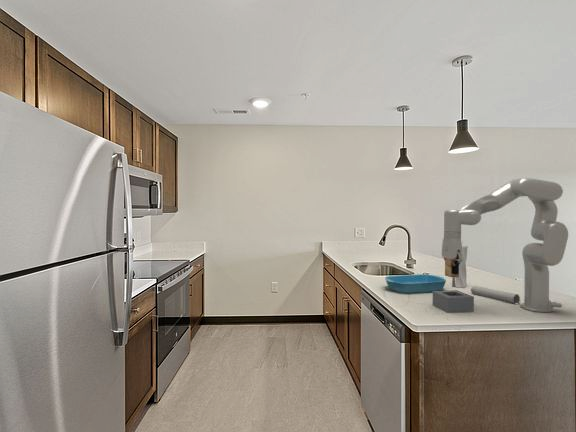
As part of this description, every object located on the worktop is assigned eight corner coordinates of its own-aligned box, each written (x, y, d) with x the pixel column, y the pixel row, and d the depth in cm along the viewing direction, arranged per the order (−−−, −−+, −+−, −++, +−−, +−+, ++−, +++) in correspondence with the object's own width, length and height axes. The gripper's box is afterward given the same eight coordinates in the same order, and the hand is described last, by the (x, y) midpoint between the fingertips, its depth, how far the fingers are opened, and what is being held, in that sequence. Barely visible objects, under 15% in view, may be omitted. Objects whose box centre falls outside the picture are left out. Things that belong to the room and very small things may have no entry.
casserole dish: (397, 295, 189) (397, 283, 188) (378, 287, 210) (378, 275, 210) (454, 292, 196) (454, 280, 196) (430, 284, 218) (430, 273, 218)
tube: (467, 287, 192) (512, 296, 169) (473, 283, 194) (518, 292, 171) (470, 295, 192) (514, 306, 170) (476, 291, 195) (520, 301, 172)
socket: (456, 304, 170) (456, 290, 170) (473, 311, 157) (473, 296, 157) (432, 305, 169) (432, 291, 169) (447, 312, 156) (447, 297, 156)
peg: (453, 275, 165) (453, 255, 165) (458, 277, 161) (459, 256, 161) (444, 275, 165) (445, 255, 165) (450, 277, 161) (450, 256, 160)
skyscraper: (454, 284, 216) (454, 241, 215) (468, 286, 211) (468, 242, 211) (451, 287, 209) (451, 242, 209) (466, 289, 204) (466, 243, 204)
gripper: (435, 234, 171) (435, 270, 171) (455, 236, 154) (455, 276, 154) (449, 234, 172) (448, 269, 172) (471, 236, 155) (470, 276, 155)
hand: (451, 272), depth 163 cm, fingers closed on peg, 4 cm apart
